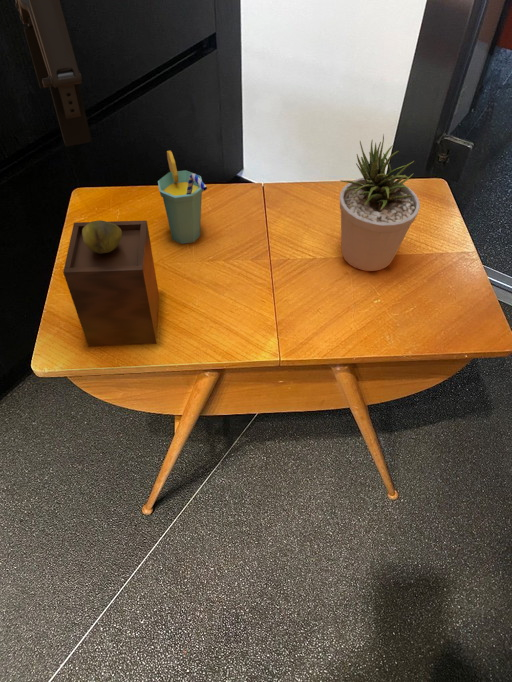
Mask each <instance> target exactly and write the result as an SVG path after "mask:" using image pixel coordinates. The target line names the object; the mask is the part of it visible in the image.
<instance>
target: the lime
mask: <svg viewBox="0 0 512 682" xmlns="http://www.w3.org/2000/svg"><path fill="white" fill-rule="evenodd" d="M89 222H90V223H89V224H87V225H86V226H85V227H84V228H83V229H82V236H83V240H84V243H85V244H86V245H87V246H88V248H89V249H90V250H92V251H94V252H96V253H99V254H103V253H109V252H111V251H112V250H114V249H115V248H116V247H117V246H118V245H119V243H120V240H121V237H122V231H121V229H120V228H119V227H118V226H117V225H115V224H113V223H109V222H110V221H106V220H93V221H89Z"/></svg>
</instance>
